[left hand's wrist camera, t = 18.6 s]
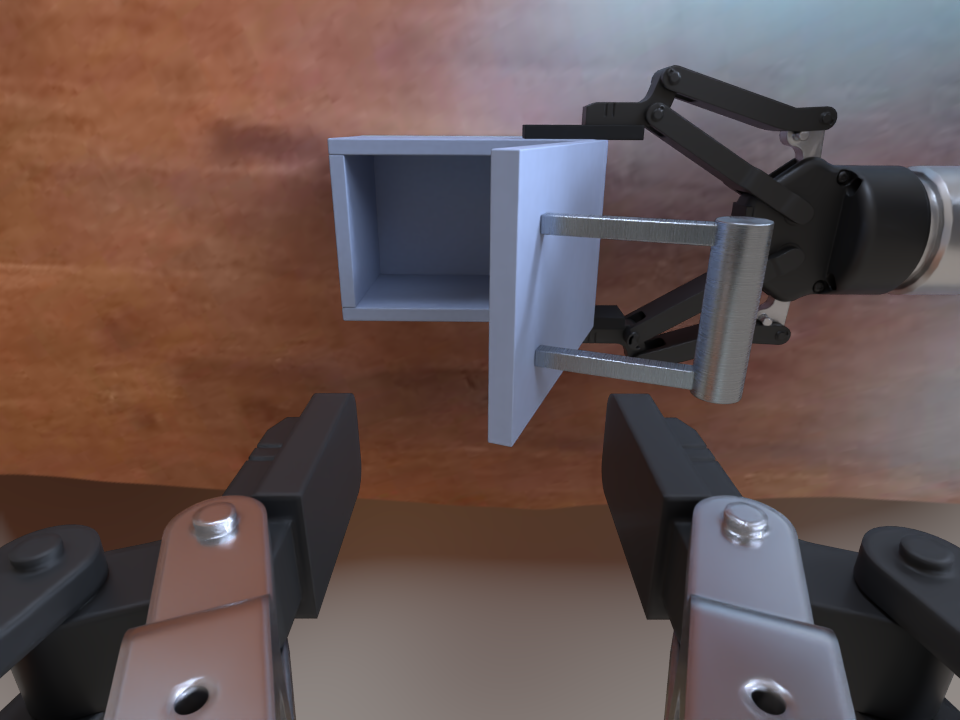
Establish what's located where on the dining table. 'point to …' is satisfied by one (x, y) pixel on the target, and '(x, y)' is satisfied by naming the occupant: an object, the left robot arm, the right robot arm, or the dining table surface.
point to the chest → (415, 225)
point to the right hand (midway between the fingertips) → (520, 229)
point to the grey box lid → (573, 280)
